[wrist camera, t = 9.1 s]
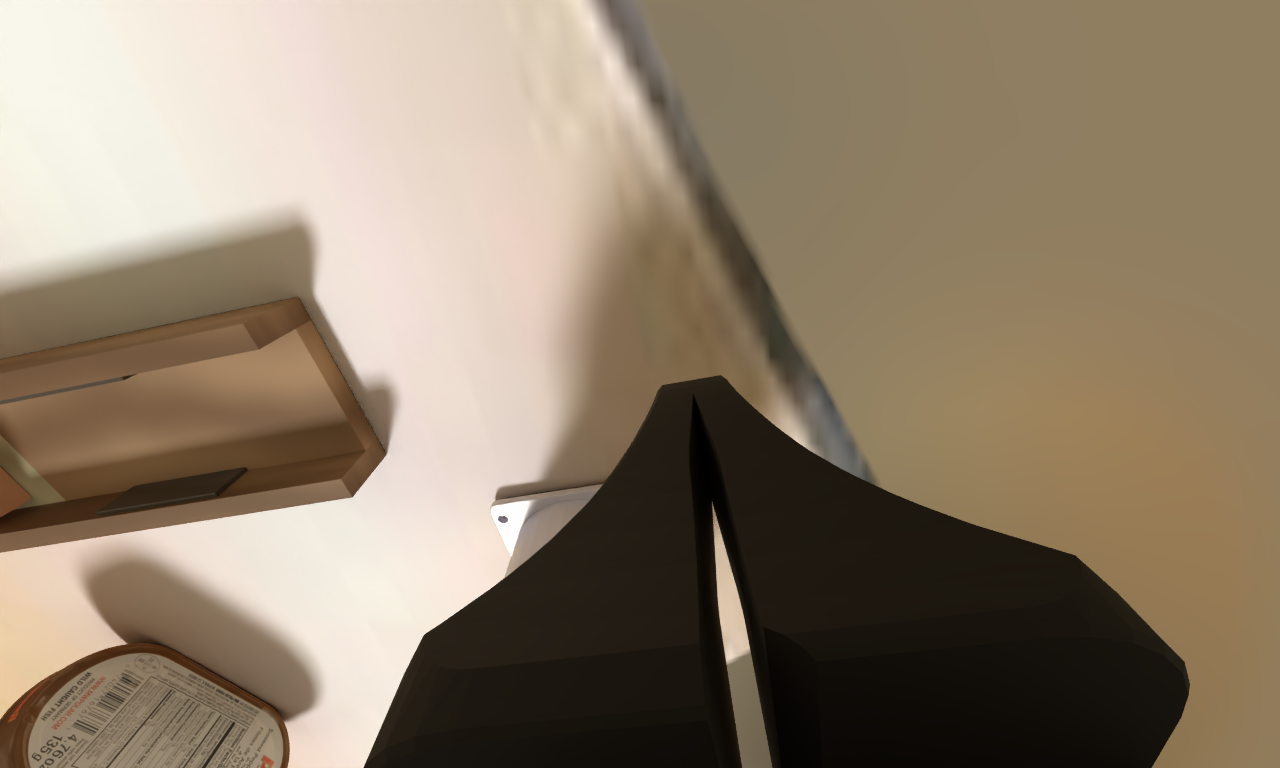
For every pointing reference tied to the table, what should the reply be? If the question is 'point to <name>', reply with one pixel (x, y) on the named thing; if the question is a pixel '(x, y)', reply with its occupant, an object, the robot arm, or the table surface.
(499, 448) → the table surface
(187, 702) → the tin
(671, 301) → the table surface
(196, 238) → the table surface
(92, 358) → the chute
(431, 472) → the table surface
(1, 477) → the block
